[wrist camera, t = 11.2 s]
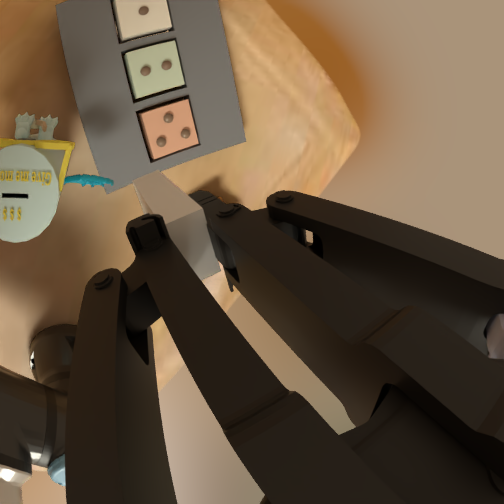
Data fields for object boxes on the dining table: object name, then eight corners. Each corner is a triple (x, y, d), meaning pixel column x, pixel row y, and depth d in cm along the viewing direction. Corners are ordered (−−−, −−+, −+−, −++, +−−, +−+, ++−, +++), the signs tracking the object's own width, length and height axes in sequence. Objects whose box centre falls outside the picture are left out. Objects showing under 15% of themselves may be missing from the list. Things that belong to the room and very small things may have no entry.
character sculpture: (118, 118, 32) (133, 122, 22) (103, 204, 36) (113, 246, 26) (-22, 111, 21) (-67, 116, 11) (-29, 199, 25) (-68, 241, 15)
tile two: (133, 99, 32) (137, 98, 29) (123, 57, 29) (126, 52, 26) (177, 85, 34) (185, 84, 31) (168, 45, 30) (175, 40, 28)
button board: (105, 189, 36) (106, 194, 34) (57, 11, 21) (55, 5, 19) (237, 139, 42) (246, 141, 40) (204, -23, 27) (211, -29, 25)
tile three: (149, 155, 37) (154, 159, 34) (137, 113, 33) (141, 113, 31) (191, 140, 38) (199, 143, 36) (181, 99, 35) (188, 99, 33)
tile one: (120, 43, 27) (123, 37, 25) (112, 4, 24) (115, -4, 21) (165, 31, 29) (172, 25, 27) (157, -6, 26) (164, -14, 23)
